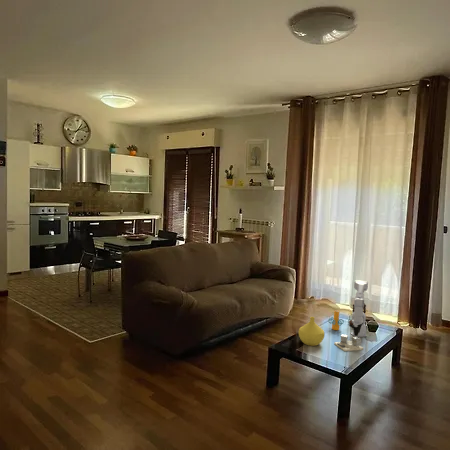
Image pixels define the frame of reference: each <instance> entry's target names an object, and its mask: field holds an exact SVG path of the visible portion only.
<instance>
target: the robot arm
mask: <svg viewBox="0 0 450 450" xmlns="http://www.w3.org/2000/svg"><path fill="white" fill-rule="evenodd" d="M353 283H354V284H353V288H354V290H356V291H357V292H356V293H355V298H354V300H353V301H354V302H353V304H354V312H352V315H351V320H352V323H353V325H351V327H352V332H350V334H351V335H352V336H354V337H358V338H361V337H367V327H366V325H365V322H366V313H365V314H364V312H363V310H364V309H363V307H364V303H365V292H366V291H367V292H368V288H369V281H367V280H359V279H355V280H354V282H353Z"/></svg>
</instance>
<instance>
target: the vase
mask: <svg viewBox="0 0 450 450" xmlns="http://www.w3.org/2000/svg"><path fill="white" fill-rule="evenodd" d="M309 318H310V319H309V321H308V322H307V323H305V324H303V326H301V327H299V329H298V337H299V339H300V341H301V342H302V343H304V345H307V346H310V347H314V346H318V345H320V344H321V343H322V342H323V340H324V338H325V330H324V329H322V327H320V326H319V325H318V324H317V323H316V322H315V316H310V317H309Z"/></svg>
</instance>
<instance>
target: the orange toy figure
mask: <svg viewBox="0 0 450 450" xmlns="http://www.w3.org/2000/svg"><path fill="white" fill-rule="evenodd" d="M327 321H328V323H329V324H331V329H332V330H333V331H340V327H341V326H342V325H344V323H345V321H344V319H343V318H340V310H338V309H337V310H336V309H335V310H334V311H333V316H331V318H328V320H327Z"/></svg>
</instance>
